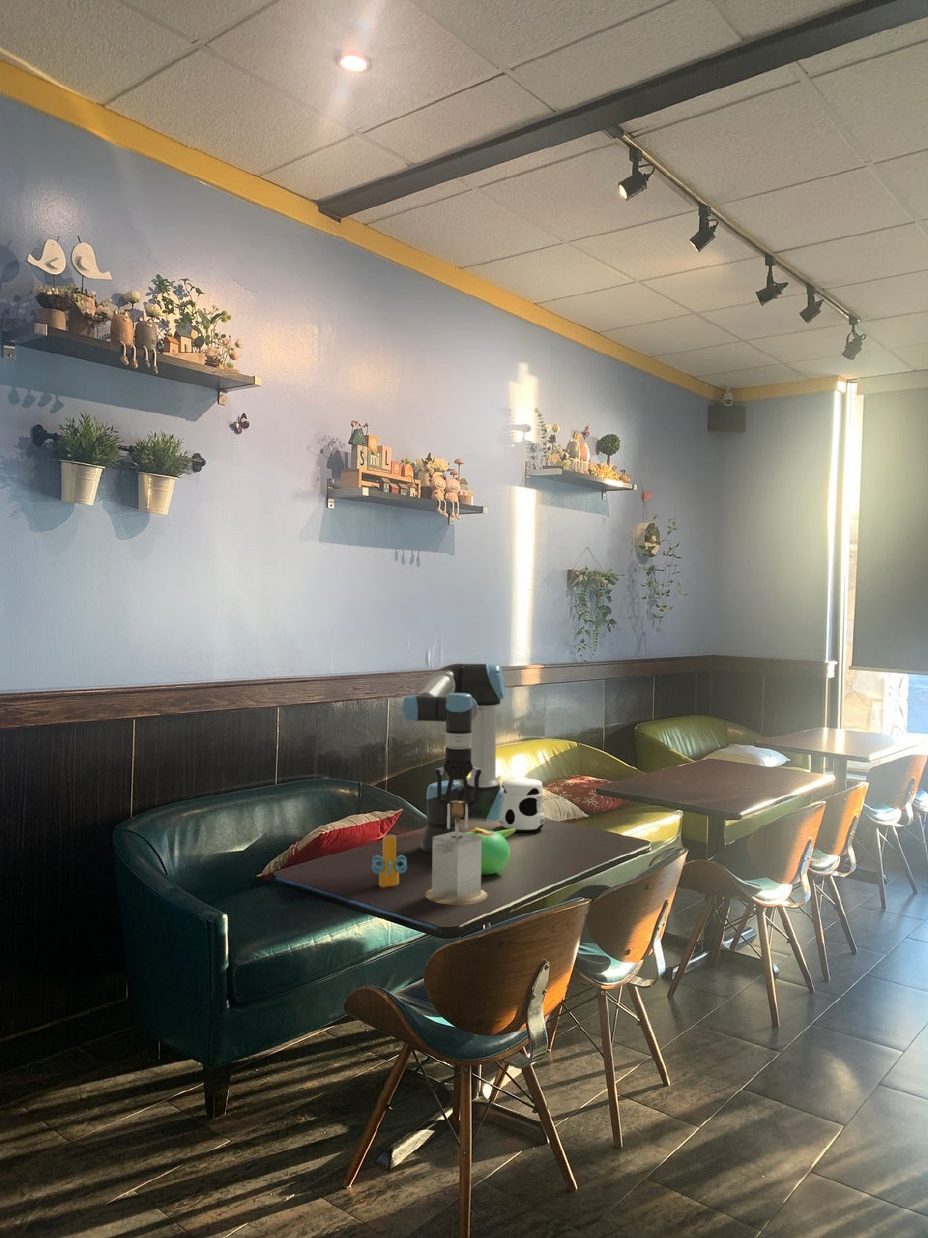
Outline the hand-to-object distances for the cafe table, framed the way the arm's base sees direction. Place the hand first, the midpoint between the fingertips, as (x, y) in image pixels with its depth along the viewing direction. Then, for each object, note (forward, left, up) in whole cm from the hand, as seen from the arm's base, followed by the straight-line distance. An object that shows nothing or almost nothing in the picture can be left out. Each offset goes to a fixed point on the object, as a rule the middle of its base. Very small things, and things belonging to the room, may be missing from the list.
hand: (457, 827), depth 272 cm
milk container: (-39, +78, -21) cm, 90 cm away
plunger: (0, 0, -12) cm, 12 cm away
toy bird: (-11, +24, -21) cm, 34 cm away
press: (0, 0, -20) cm, 20 cm away
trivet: (0, 0, -20) cm, 20 cm away
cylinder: (-22, -6, -21) cm, 31 cm away
